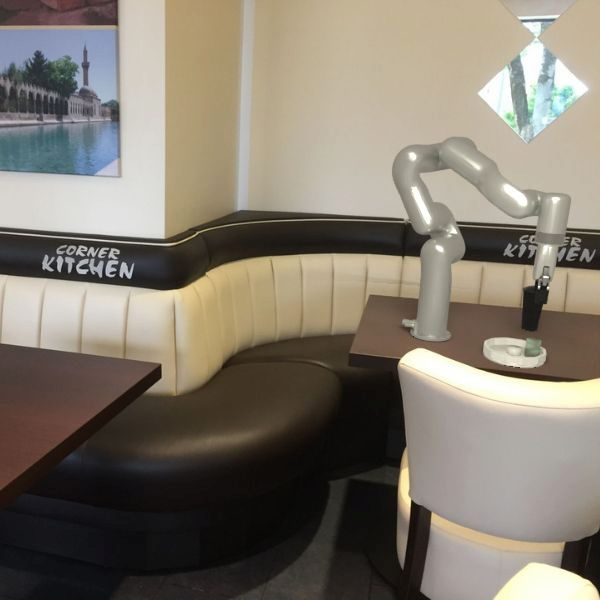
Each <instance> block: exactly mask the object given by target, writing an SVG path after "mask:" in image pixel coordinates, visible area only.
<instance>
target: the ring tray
mask: <svg viewBox="0 0 600 600" xmlns="http://www.w3.org/2000/svg"><path fill="white" fill-rule="evenodd" d="M483 342H484V343H483V347H482V348H483V349H482V355H483V357H485V359H487V360H489V361H491V362H492V363H495V364H498V365H502V366H504V365H506V366H505V367H509V366H513V367H512V368H515V367H520V368H519V369H535V368H534V367H536V368H540V367H542V366H544V364H545V362H546V359H547V350H546V348H544V347H543V346H541V347H540V353H539V356H537V357H525V356H524V353H525V346H526V340H525V339H522V338H521V339H520V338H512V337H507V336H506V337H491V338H488V339H486V340H484V341H483Z"/></svg>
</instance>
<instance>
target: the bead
mask: <svg viewBox="0 0 600 600" xmlns="http://www.w3.org/2000/svg"><path fill="white" fill-rule="evenodd" d="M525 341H526V346H525V353H524V356H525V357H537V356H539V353H540V347H542V339H539V338H535V337H526V340H525Z"/></svg>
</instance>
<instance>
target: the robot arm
mask: <svg viewBox="0 0 600 600" xmlns="http://www.w3.org/2000/svg"><path fill="white" fill-rule="evenodd" d="M444 170H445V171H446V170H452V171H453V172H455V174H457V175H458V176H460V177H462V178H463V179H465V181H467V182H468V183H470V184H471V185H472V186H473V187H475V188H476V189H477V190H478V192H479V193H480V194H481V195H482V196H483V197H484V198H485V199H486V201H488V202H489V203H490V204H492V205H493V206H494V207H496V208H497V209H498V210H499V211H501V212H503V213H504V214H505V215H507V216H509V217H511V218H513V219H517V220H521V219H522V220H523V219H526V218H530V217H537V223H536V230H535V235H534V244H536V246H537V247H536V250H535V251H536V252H535V257H534V261H533V262H534V265H533V269H532V279H533V281H534V286H535V287H534V295H535V303H538V304H543V305H547V304H548V300H549V294H550V283H551V282H552V281H553V280H554V279H553V278H554V274H555V271H556V265H557V259H558V254H559V247H564V245H565V240H566V234H567V233H566V232H567V230H568V229H567V227H568V223H569V216H570V211H571V205H572V204H571V203H572V197H571V195H570V194H567V193H563V192H546V191H541V190H540V191H539V190H536V189H530V188H529V189H522V188H519V187H518V186H516V185H515V184H514V183H512V182H511V181H510V180H508V179H507V178H506V177H505V176H503V174H501V171H499V170H500V169H499V167H498V164H497V163H496V161H495V160H493V158H490V157H489V156H487V155H486V154H484V153H483V152H481V151H480V150H478V147H477V145H476V142H474V140H472V139H471V138H469V137H466V136H450V137H447V138H446V139H444V140H443V141H442V142H437V143H432V144H409V145H407V146H405V147H403V148H401V150H399V151H398V153H397V154H396V156H395V158H394V160H393V163H392V166H391V176H392V177H391V178H392V181H393V184H394V186H395V188H396V190H397V192H398V194H399V197H400V199H401V202H402V204H403V207H404V210H405V212H406V215H407V216H408V219H409V221H410V224H411V226H412V229H413V231H415V232H416V234H419V235H422V236H427V235H429V236H430V239H428V240H426V241H425V243H424V244H423V245H422V247H421V248H420V253H419V254H420V256H419V257H420V258H419V259H420V260H419V261H420V279H419V280H420V281H419V293H418V302H417V311H416V319H412V320H411V319H407V318H403V319H402V323H401V324H402V326H404V327H405V328H411V329H410V333H409V334H410V335H411V336H412V337H413V336H414V338H415V339H418V340H421V341H426V342H435V343H436V342H437V343H438V342H445V341H448V340H450V339H451V338H452V334H451V332H450V331H449V330H448V329H447V328H448V321H449V320H448V318H449V310H450V301H451V294H452V292H451V291H452V283H453V282H452V281H453V275H452V274H453V273H452V265H453V264H455V263H457V262H459V261H460V260H461V259H462V258H463V257H464V255H465V252H466V245H465V244H466V243H465V240H464V238H463V235H462V232H461V231H460V228H459V226H458V223H457V222H456V218H455V217H454V214H453V212H452V210H451V209H450V208H449V207H448V206H447V205H446V204H444V203H442V202H439V201H435V202H434V201H433V198H432V196H431V194H430V191H429V189H428V187H427V185H426V183H425V182H424V180H423V179H422V178H421V174H426V173H428V174H429V173H434V172H438V171H444ZM535 280H536V281H535Z"/></svg>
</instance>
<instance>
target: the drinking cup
mask: <svg viewBox="0 0 600 600" xmlns="http://www.w3.org/2000/svg"><path fill="white" fill-rule="evenodd" d="M535 281H536V280H534V282H535ZM534 287H535V285H527V286H523V287H522V312H521V329H522V330H524V329H525V330H524V331H527V330H529V331H528V332H535V330H536V331H537V330H538V326H539V324H540V318H541V315H542V311H543V307H544V304H538V303H535V295H534Z"/></svg>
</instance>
